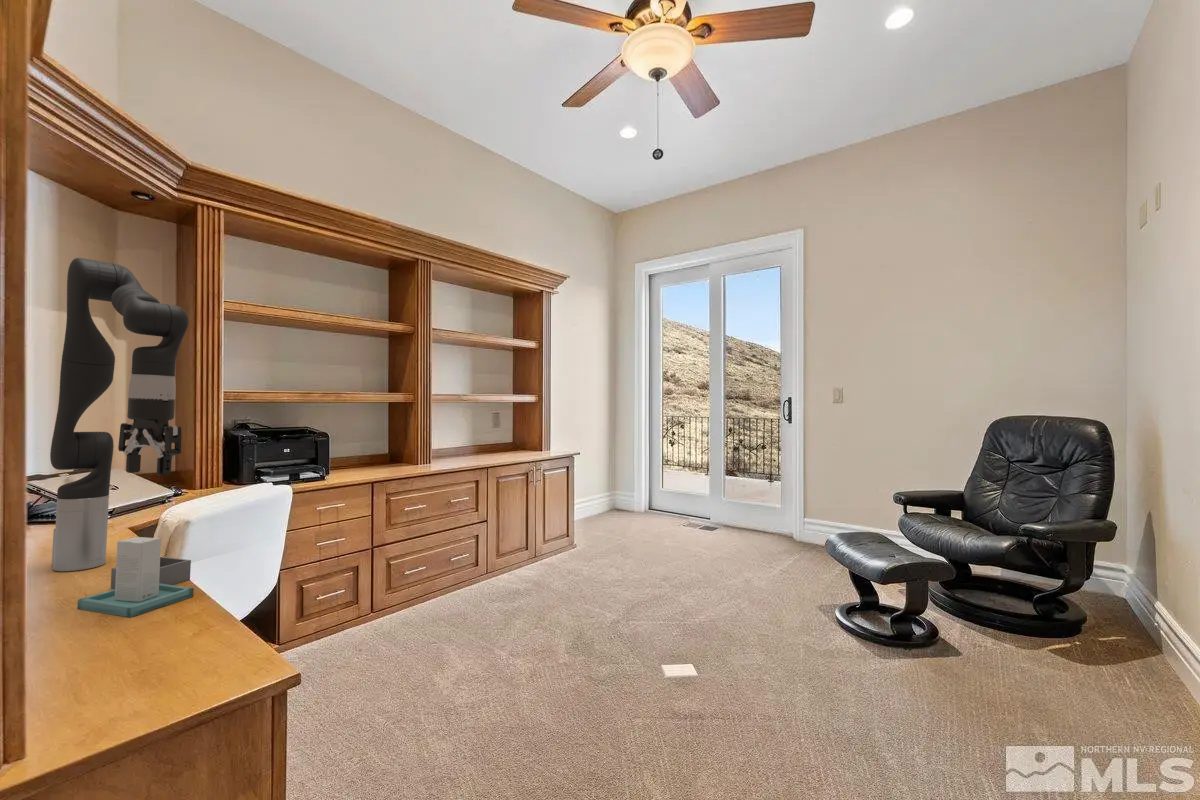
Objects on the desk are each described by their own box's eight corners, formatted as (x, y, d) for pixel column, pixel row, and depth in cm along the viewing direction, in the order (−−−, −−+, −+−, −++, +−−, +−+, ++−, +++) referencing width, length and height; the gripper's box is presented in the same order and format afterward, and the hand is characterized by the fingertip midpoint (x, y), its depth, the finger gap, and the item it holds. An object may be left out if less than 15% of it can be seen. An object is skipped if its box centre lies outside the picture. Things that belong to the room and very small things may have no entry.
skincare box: (159, 595, 109) (162, 538, 109) (139, 603, 105) (142, 542, 105) (134, 593, 110) (137, 536, 110) (112, 600, 106) (115, 541, 106)
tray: (77, 608, 103) (77, 599, 103) (143, 589, 115) (144, 581, 115) (130, 617, 100) (131, 607, 100) (193, 596, 111) (193, 588, 111)
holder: (110, 589, 114) (111, 568, 114) (159, 575, 124) (160, 556, 124) (142, 593, 112) (143, 572, 112) (190, 579, 122) (190, 560, 122)
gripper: (107, 395, 108) (102, 473, 108) (158, 397, 105) (154, 478, 105) (146, 396, 116) (142, 469, 115) (196, 398, 112) (192, 474, 112)
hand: (148, 473), depth 110 cm, fingers open, 8 cm apart
